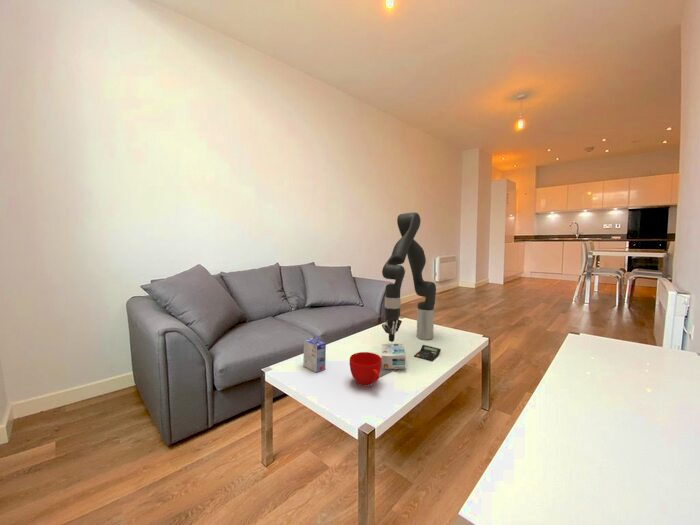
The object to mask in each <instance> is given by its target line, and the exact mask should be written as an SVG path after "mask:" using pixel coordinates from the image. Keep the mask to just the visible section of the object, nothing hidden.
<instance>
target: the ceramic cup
mask: <svg viewBox="0 0 700 525" xmlns="http://www.w3.org/2000/svg"><path fill="white" fill-rule="evenodd" d="M381 358H382V356H380V355H378V354H376V353H374V352H370V351H369V352H368V351H360V352H355V353H353V354H351V355H350V357H349V363H350V364H349V369H350V373H351V376H352V378H353V379H354V380H355V382H356V383H357V384H358V385H360V386H363V387H367V386H371V385H373V383H375V382H378V380H379V379H380V378H379V373H380V369H381Z"/></svg>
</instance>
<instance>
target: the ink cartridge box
mask: <svg viewBox="0 0 700 525" xmlns="http://www.w3.org/2000/svg"><path fill="white" fill-rule="evenodd" d="M320 338H321V337H320V336H319V335H317V334H314V335H313V337H311V338H307V339H305V340H303V367H305V368H307V369H308V370H311V371H313V372H314V373H319V372H322V371H325V370H326V357H327V356H326V355H327V354H326V350H327V349H326V346H327V343H326V342H324V341H321V340H320Z"/></svg>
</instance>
